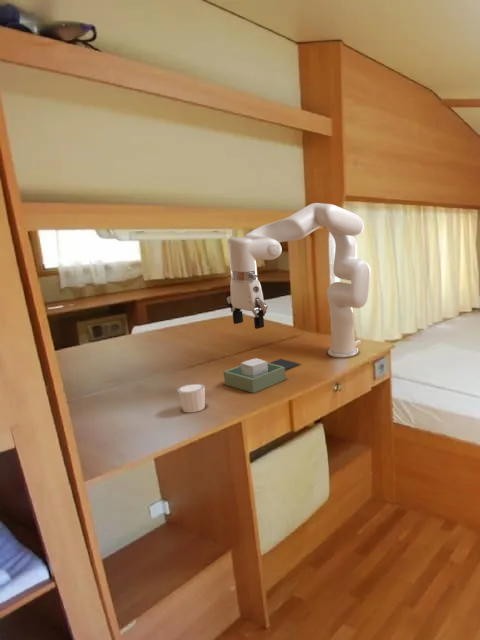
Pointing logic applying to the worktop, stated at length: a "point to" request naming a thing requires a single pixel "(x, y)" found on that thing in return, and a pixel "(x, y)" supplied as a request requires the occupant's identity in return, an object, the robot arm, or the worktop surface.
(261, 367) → the product box
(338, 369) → the worktop surface
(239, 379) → the green square tray
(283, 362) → the mat
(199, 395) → the shot glass
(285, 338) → the worktop surface
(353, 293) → the robot arm
